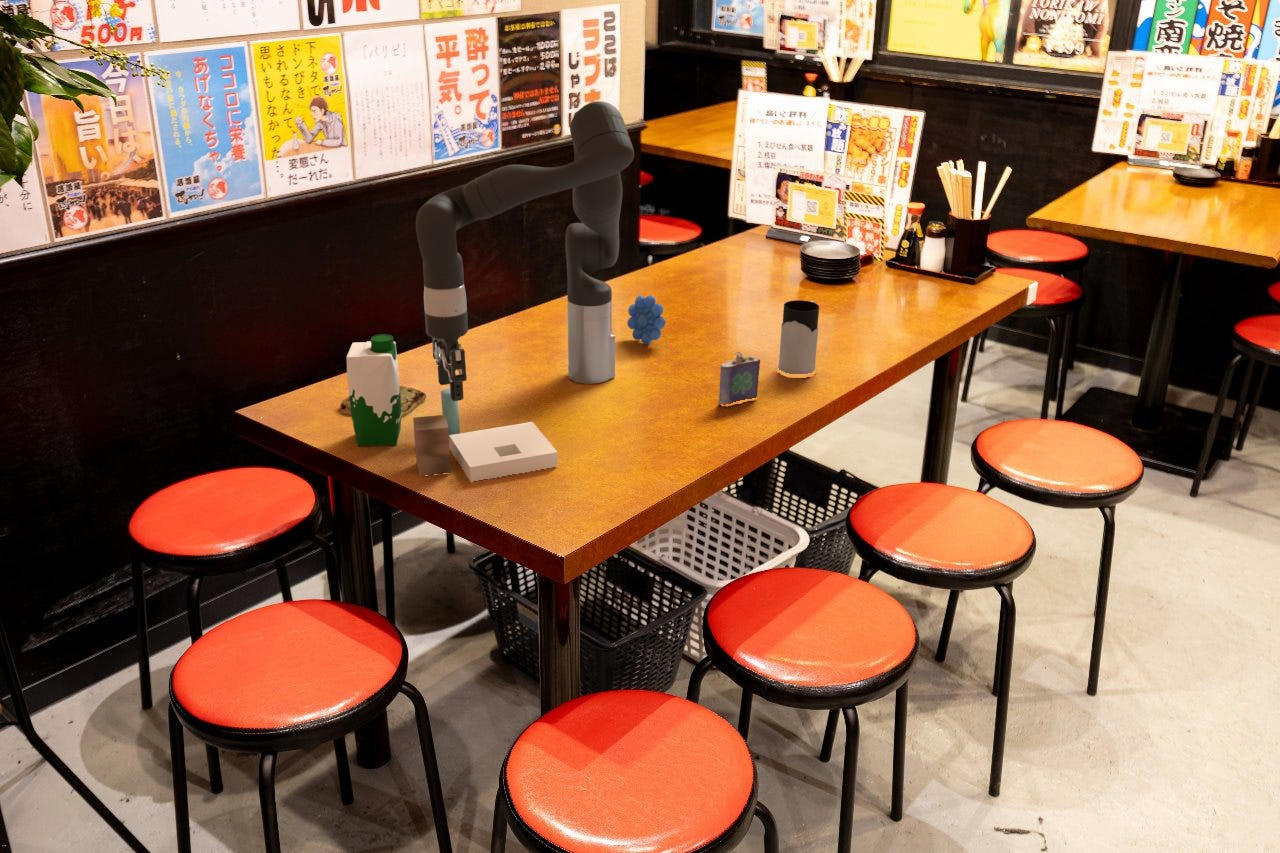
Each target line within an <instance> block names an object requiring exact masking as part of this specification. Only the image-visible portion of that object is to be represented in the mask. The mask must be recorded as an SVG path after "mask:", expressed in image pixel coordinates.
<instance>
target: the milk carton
mask: <svg viewBox="0 0 1280 853" xmlns="http://www.w3.org/2000/svg"><path fill="white" fill-rule="evenodd" d="M396 344H397V343H396V341H394V336H393V335H391V334H386V333H384V334H383V333H382V334H381V333H380V334H375V335H373V336H371V337H370V340H369V341H368V340H367V341H366V342H364V341H363V342H361V341H360V342H358V341H357V342H354V341H353V342H352V344H351V346H350V348H349V351H348V353H347V355H346V376H347V378H346V379H347V387H348V397H350V407H351V415H350V416H351V423H352V426H353V430H354V431H353V432H354V434H355V441H356V444H357V447H379V446H378V445H391V446H397V445H398V444H397V443H398V440H399V436H400V432H401V427H402V426H401V425H402V419H401V414H402V409H401V396H400V386H401V385H400V374H399V365H398V364H399V362H398V354H397V345H396Z"/></svg>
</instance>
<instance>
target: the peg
mask: <svg viewBox="0 0 1280 853" xmlns="http://www.w3.org/2000/svg"><path fill="white" fill-rule="evenodd" d="M440 396H441V397H440V398H441V409H442V412H441V413H442V414H441V415H445V416H446V420H447V424H448V428H449V435H454V434H460V433H461V428H460V415H459V414H460V413H459V412H460V411H459V401H452V399H451V394H450V388H444V389H443V390H441V391H440Z"/></svg>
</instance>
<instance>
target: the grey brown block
mask: <svg viewBox="0 0 1280 853" xmlns="http://www.w3.org/2000/svg"><path fill="white" fill-rule="evenodd" d="M412 421H413V433H414V444H415V445H414V447H415V460H416V467H418V468H417V471H418V472H419V473H418V472H417V473H418V477H419V476H424V477H426V476H425V475H434V474H443V473H451V474H452V462H451V451H450V441H449V428H448V424H447V420H446V416H445V415H443V414H439V415H428V416H427V415H426V416H415V417H413V418H412ZM434 476H435V475H434Z"/></svg>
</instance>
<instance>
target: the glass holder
mask: <svg viewBox="0 0 1280 853" xmlns="http://www.w3.org/2000/svg"><path fill="white" fill-rule="evenodd" d="M782 312H783V313H782V314H783V315H782V323H781V329H780V344H779V355H778V356H779V357H778V358H779V360H778V365H777V367H778V368H779V370H781V371H783V372H785V373H789V374H808V373H812V372H813V371H815V369H816V359H817V358H816V357H817V348H818V347H817V346H818V338H819V337H818V336H819V326H818V325H819V316H820V315H819V314H820V306H819V304H817V303H816V302H815V301H814V300H810V301H809V300H803V299H802V300H801V299H799V300H798V299H795V300H788V301H786V302H784V304H783V311H782Z"/></svg>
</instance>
